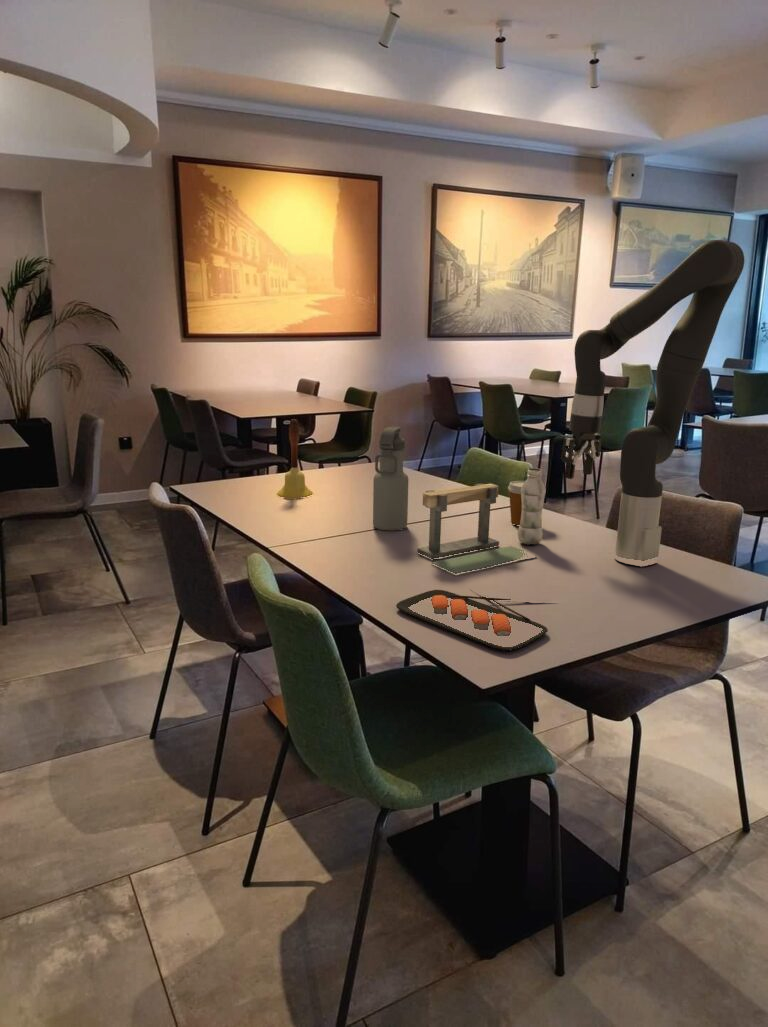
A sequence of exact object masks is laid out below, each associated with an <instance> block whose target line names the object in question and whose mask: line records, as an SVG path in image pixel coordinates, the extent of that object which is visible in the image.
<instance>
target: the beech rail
mask: <svg viewBox="0 0 768 1027" xmlns="http://www.w3.org/2000/svg"><path fill="white" fill-rule="evenodd" d="M490 487H496V488H497V494H496V498H499V487H500V486H499V485H496V484H494V483H487V484H486V483H484V485H478V486H475V485H473V486H464V487H457V488H450V489H443V490H436V491H435V490H434V491H435V492H428V493H426V492H422V506H423V507H425V506H426V507H425V508H427V507H429V508H428V509H430V508H432V507H437V502H438V495H441V494H446V495H447V506H450V505H455V504H456V505H457V504H462V503H469V502H477V501H479V500H483V499H487V492H488V488H490Z"/></svg>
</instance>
